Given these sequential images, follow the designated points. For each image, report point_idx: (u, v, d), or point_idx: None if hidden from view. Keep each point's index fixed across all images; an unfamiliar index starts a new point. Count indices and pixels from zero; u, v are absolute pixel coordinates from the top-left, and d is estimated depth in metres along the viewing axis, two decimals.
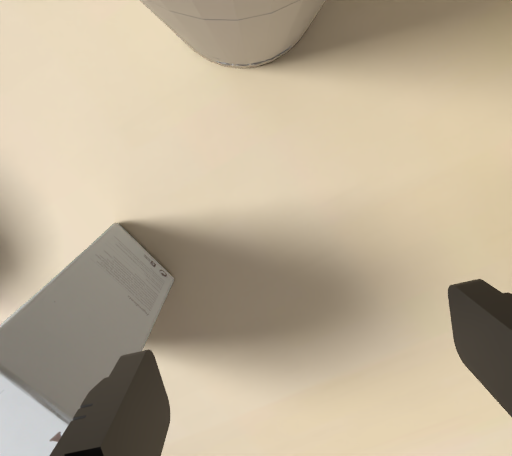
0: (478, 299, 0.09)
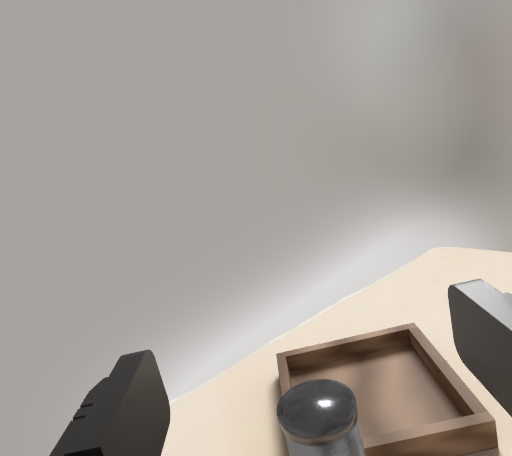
0: (478, 299, 0.09)
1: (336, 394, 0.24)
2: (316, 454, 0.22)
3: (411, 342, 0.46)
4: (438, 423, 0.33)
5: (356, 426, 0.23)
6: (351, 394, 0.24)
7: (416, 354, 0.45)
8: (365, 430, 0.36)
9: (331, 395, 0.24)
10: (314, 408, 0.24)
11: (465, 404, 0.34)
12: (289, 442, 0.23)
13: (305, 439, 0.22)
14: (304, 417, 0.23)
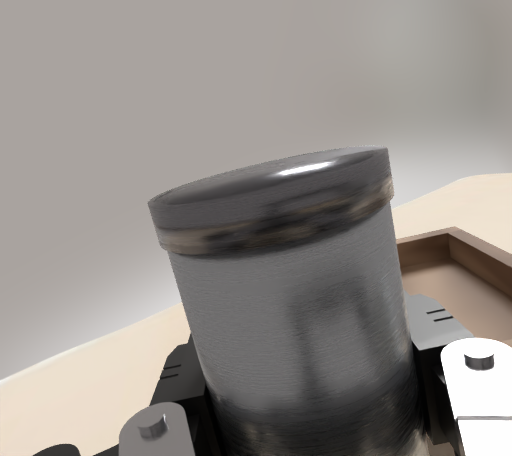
0: None
1: (327, 155, 0.08)
2: (252, 287, 0.06)
3: (451, 254, 0.30)
4: None
5: (389, 220, 0.07)
6: (372, 146, 0.08)
7: (461, 267, 0.29)
8: None
9: (313, 159, 0.08)
10: (259, 175, 0.08)
11: None
12: (177, 272, 0.07)
13: (210, 225, 0.06)
14: (222, 188, 0.07)
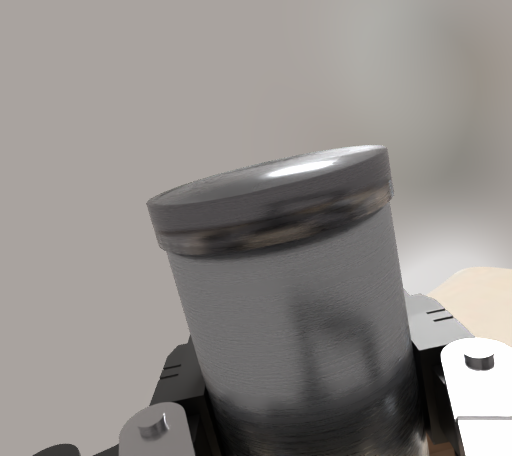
0: None
1: (327, 155, 0.08)
2: (251, 288, 0.06)
3: None
4: None
5: (388, 220, 0.07)
6: (371, 146, 0.08)
7: None
8: None
9: (312, 159, 0.08)
10: (258, 175, 0.08)
11: None
12: (176, 273, 0.07)
13: (208, 225, 0.06)
14: (222, 188, 0.07)
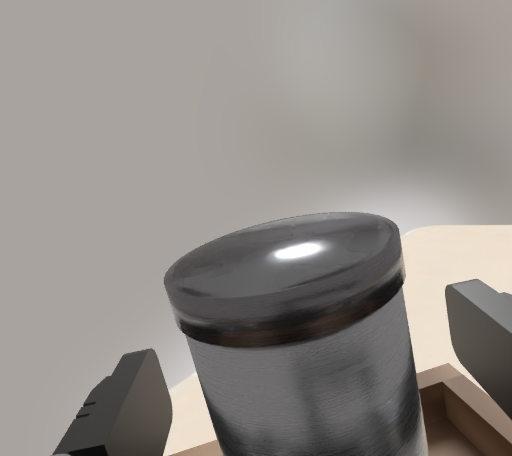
0: (475, 299, 0.09)
1: (339, 227, 0.09)
2: (269, 378, 0.07)
3: (450, 415, 0.18)
4: None
5: (400, 301, 0.07)
6: (382, 220, 0.08)
7: (475, 452, 0.17)
8: None
9: (324, 230, 0.09)
10: (272, 253, 0.08)
11: None
12: (193, 352, 0.08)
13: (228, 322, 0.06)
14: (238, 271, 0.07)
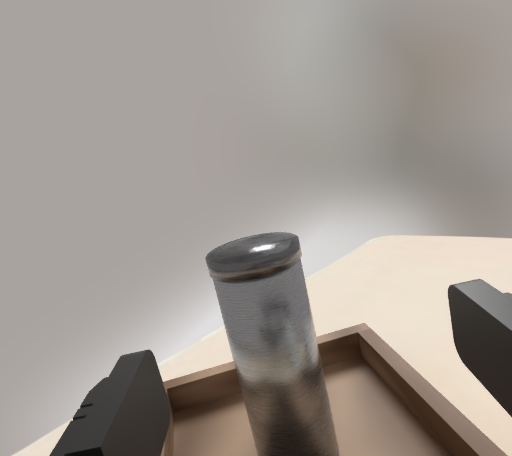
0: (478, 299, 0.09)
1: (277, 239, 0.21)
2: (246, 292, 0.19)
3: (362, 353, 0.30)
4: None
5: (297, 268, 0.19)
6: (294, 237, 0.20)
7: (372, 371, 0.29)
8: None
9: (271, 240, 0.21)
10: (249, 249, 0.20)
11: None
12: (217, 287, 0.20)
13: (232, 272, 0.18)
14: (235, 255, 0.19)
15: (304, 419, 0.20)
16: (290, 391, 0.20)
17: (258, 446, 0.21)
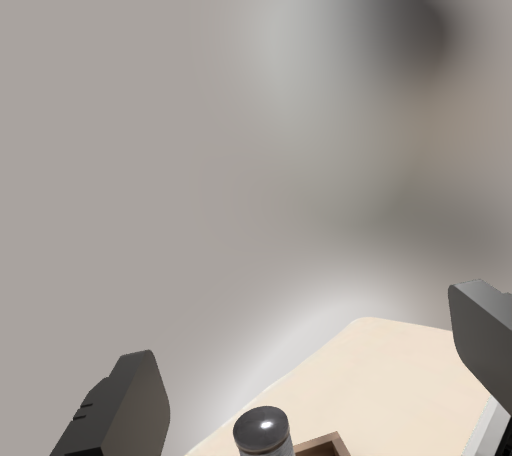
0: (478, 299, 0.09)
1: (275, 418, 0.35)
2: None
3: (335, 454, 0.44)
4: None
5: (287, 441, 0.33)
6: (285, 418, 0.34)
7: None
8: None
9: (272, 419, 0.35)
10: (258, 428, 0.34)
11: None
12: (240, 452, 0.34)
13: (249, 450, 0.32)
14: (251, 435, 0.33)
15: None
16: None
17: None
